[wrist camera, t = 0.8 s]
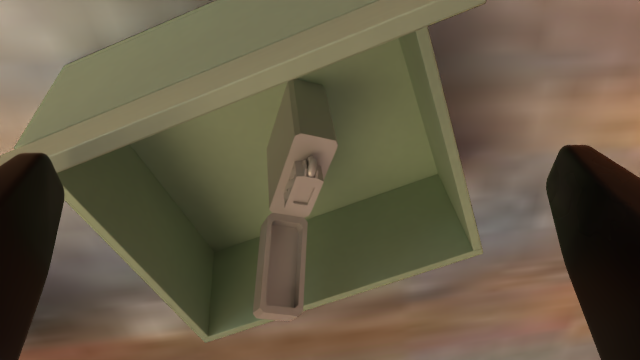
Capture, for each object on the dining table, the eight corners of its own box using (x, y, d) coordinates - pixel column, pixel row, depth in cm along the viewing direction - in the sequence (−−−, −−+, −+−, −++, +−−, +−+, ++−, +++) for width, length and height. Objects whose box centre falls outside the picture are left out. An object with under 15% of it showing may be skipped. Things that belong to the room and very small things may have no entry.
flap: (-173, 264, 10) (-185, 249, 10) (9, 164, 16) (3, 154, 16) (487, 2, 8) (481, -19, 8) (423, -4, 14) (419, -16, 14)
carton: (212, 253, 29) (205, 343, 25) (63, 65, 21) (12, 148, 17) (444, 171, 27) (483, 253, 23) (377, -70, 19) (417, -18, 15)
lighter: (289, 77, 22) (304, 198, 16) (326, 86, 23) (355, 207, 16) (251, 197, 26) (252, 330, 20) (283, 202, 27) (294, 334, 21)
